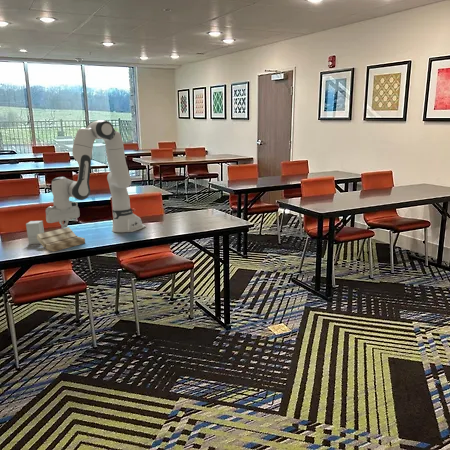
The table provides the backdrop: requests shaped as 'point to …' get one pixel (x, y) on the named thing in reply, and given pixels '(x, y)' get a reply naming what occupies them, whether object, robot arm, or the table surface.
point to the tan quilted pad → (55, 235)
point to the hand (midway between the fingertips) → (64, 227)
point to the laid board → (65, 243)
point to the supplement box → (34, 231)
